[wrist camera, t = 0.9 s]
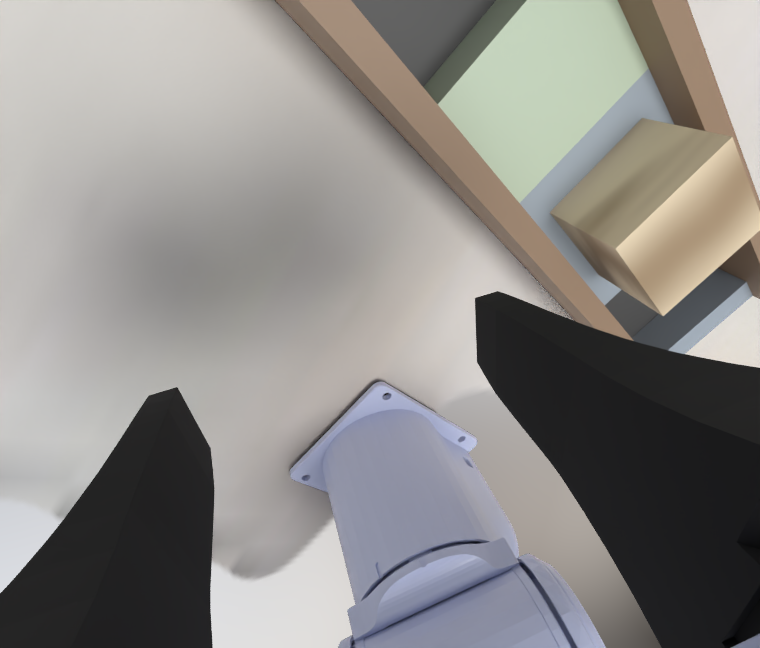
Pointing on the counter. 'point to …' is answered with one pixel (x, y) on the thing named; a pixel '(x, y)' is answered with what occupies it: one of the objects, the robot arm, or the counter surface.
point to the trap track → (540, 123)
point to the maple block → (661, 211)
